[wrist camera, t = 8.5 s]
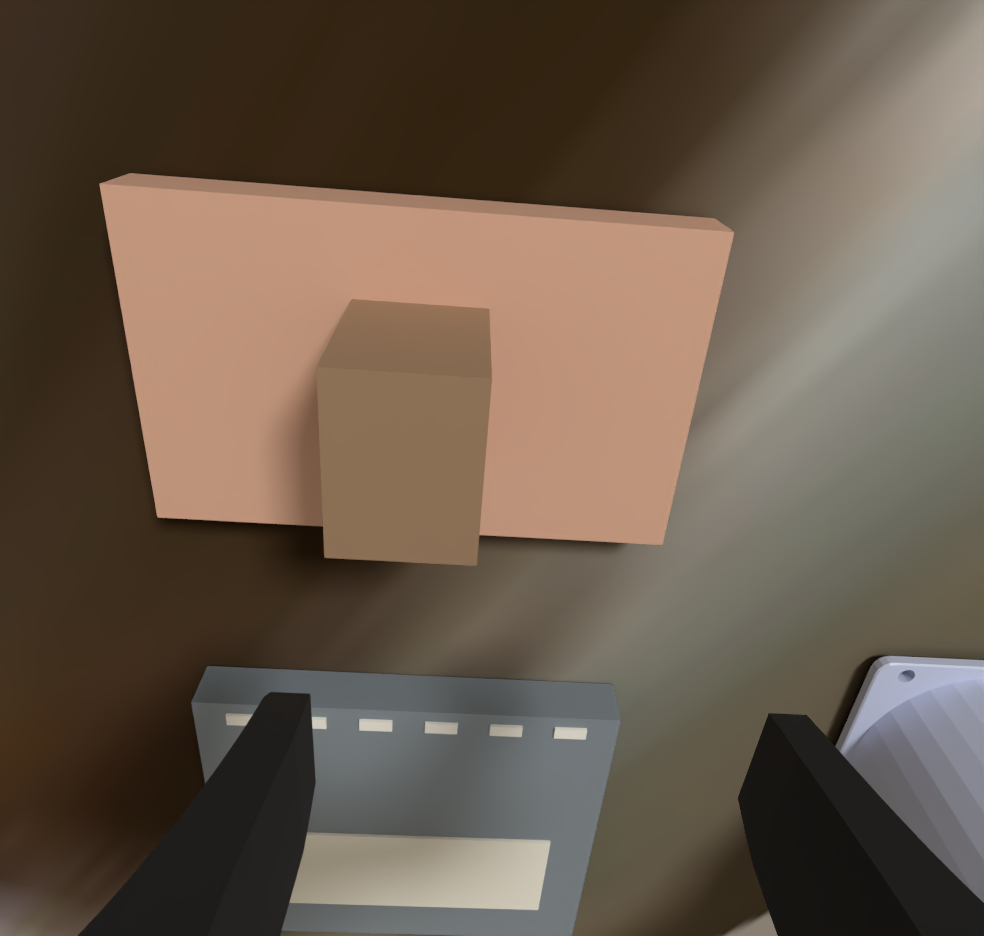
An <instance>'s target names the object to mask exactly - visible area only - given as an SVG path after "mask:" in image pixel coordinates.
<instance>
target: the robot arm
mask: <svg viewBox="0 0 984 936" xmlns="http://www.w3.org/2000/svg"><path fill="white" fill-rule="evenodd" d="M903 671H904V672H903ZM315 784H316V778H315V762H314V745H313V729H312V713H311V697H310V694H308V693H285V692H270V693H268V694H267V695H265V696H264V697H263V699H262V700H261V702H260V704H259V705H258V707H257V709H256V710H255V712H254V713H253V715H252V717H251V718H250V720H249V721H248V723H247V724H246V726H245V727H244V729H243V731H242V732H241V734H240V735H239V737H238V738H237V740H236V741H235V742H234V744H233V745H232V747H231V748H230V750H229V751H228V753H227V754H226V756H225V757H224V758H223V760H222V761H221V763H220V764H219V766H218V767H217V768H216V770H215V771H214V773H213V774H212V775H211V777H210V778H209V779H208V781H207V782H206V783H205V785H204V786H203V787H202V789H201V790H200V791H199V793H198V794H197V795H196V797H195V798H194V799H193V801H192V802H191V803H190V805H189V806H188V807H187V809H186V810H185V811H184V813H183V814H182V815H181V817H180V818H179V819H178V820H177V822H176V823H175V824H174V825H173V827H172V828H171V829H170V830H169V832H168V833H167V834H166V835H165V836H164V838H163V839H162V840H161V841H160V843H159V844H158V845H157V846H156V847H155V849H154V850H153V851H152V852H151V853H150V855H149V856H148V857H147V858H146V860H145V861H144V862H143V863H142V864H141V866H140V867H139V868H138V869H137V870H136V872H135V873H134V874H133V875H132V876H131V878H130V879H129V880H128V881H127V882H126V883H125V884H124V886H123V887H122V888H121V889H120V890H119V891H118V892H117V894H116V895H115V896H114V897H113V898H112V899H111V900H110V901H109V903H108V904H107V905H106V906H105V907H104V908H103V909H102V910H101V911H100V912H99V914H98V915H97V916H96V917H95V918H94V919H93V920H92V921H91V922H90V923H89V924H88V925H87V926H86V928H85V929H84V930H83V931H82V932H81V933H80V934H79V935H78V936H280V934H281V930H282V927H283V923H284V920H285V916H286V913H287V909H288V906H289V902H290V899H291V895H292V891H293V888H294V884H295V881H296V877H297V873H298V870H299V866H300V863H301V859H302V855H303V852H304V847H305V841H306V836H307V830H308V825H309V819H310V813H311V807H312V802H313V796H314V790H315ZM738 801H739V805H740V810H741V815H742V819H743V824H744V829H745V833H746V837H747V842H748V846H749V850H750V854H751V858H752V862H753V866H754V869H755V872H756V875H757V878H758V881H759V884H760V887H761V889H762V892H763V895H764V898H765V901H766V904H767V907H768V909H769V912H770V915H771V918H772V921H773V924H774V926H775V929H776V932H777V935H778V936H984V660H968V659H947V658H926V657H905V656H884V657H881V658H879V659H877V660H876V661H875V662H874V663H873V664H872V665H871V667H870V669H869V671H868V674H867V676H866V678H865V680H864V683H863V685H862V687H861V690H860V692H859V694H858V696H857V699H856V701H855V703H854V705H853V708H852V710H851V712H850V714H849V717H848V719H847V721H846V724H845V726H844V728H843V730H842V733H841V735H840V737H839V739H838V742H837V744H836V746H834V745H833V744H832V742H831V741H830V740H829V739H828V738H827V737H826V736H825V735H824V734H823V732H822V731H821V730H820V729H819V728H818V727H817V726H816V725H815V724H814V723H813V722H812V720H811V719H810V718H809V717H808V716H807V715H794V714H771V713H769V714H768V717H767V720H766V723H765V725H764V728H763V731H762V734H761V736H760V739H759V742H758V744H757V747H756V750H755V753H754V755H753V758H752V761H751V764H750V766H749V769H748V772H747V775H746V777H745V780H744V783H743V786H742V788H741V791H740V794H739V796H738Z"/></svg>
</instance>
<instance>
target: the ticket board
mask: <svg viewBox="0 0 984 936" xmlns="http://www.w3.org/2000/svg"><path fill="white" fill-rule="evenodd" d="M270 692H285V693H308V694H310V697H311V713H312V729H313V745H314V762H315V778H316V784H315V790H314V796H313V802H312V807H311V813H310V819H309V825H308V830H307V836H306V841H305V847H304V852H303V855H302V859H301V863H300V866H299V870H298V873H297V877H296V881H295V884H294V888H293V891H292V895H291V899H290V902H289V906H288V909H287V913H286V916H285V920H284V923H283V927H282V930H281V931H315V932H352V933H389V934H425V935H462V936H572V932H573V928H574V923H575V919H576V915H577V910H578V906H579V901H580V897H581V893H582V888H583V884H584V880H585V875H586V871H587V867H588V862H589V858H590V853H591V849H592V845H593V840H594V836H595V832H596V827H597V823H598V818H599V814H600V810H601V805H602V801H603V797H604V792H605V788H606V783H607V779H608V775H609V770H610V766H611V762H612V757H613V753H614V749H615V744H616V740H617V735H618V731H619V727H620V722H621V719H620V714H619V709H618V704H617V700H616V695H615V690H614V686H613V684H598V683H576V682H554V681H531V680H509V679H487V678H464V677H442V676H420V675H397V674H375V673H353V672H330V671H308V670H286V669H263V668H241V667H219V666H207V668H206V670H205V672H204V675H203V677H202V679H201V681H200V684H199V686H198V688H197V690H196V693H195V695H194V697H193V699H192V702H191V704H192V710H193V716H194V722H195V727H196V733H197V739H198V745H199V751H200V756H201V762H202V768H203V774H204V780H205V783H206V782H207V781H208V779H209V778H210V777H211V775H212V774H213V773H214V771H215V770H216V768H217V767H218V766H219V764H220V763H221V761H222V760H223V758H224V757H225V756H226V754H227V753H228V751H229V750H230V748H231V747H232V745H233V744H234V742H235V741H236V740H237V738H238V737H239V735H240V734H241V732H242V731H243V729H244V727H245V726H246V724H247V723H248V721H249V720H250V718H251V717H252V715H253V713H254V712H255V710H256V709H257V707H258V705H259V704H260V702H261V700H262V699H263V697H264V696H265V695H267V694H268V693H270Z"/></svg>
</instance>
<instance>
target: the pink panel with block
mask: <svg viewBox="0 0 984 936" xmlns="http://www.w3.org/2000/svg"><path fill="white" fill-rule="evenodd" d="M100 190H101V195H102V201H103V207H104V213H105V218H106V224H107V230H108V236H109V241H110V247H111V253H112V259H113V264H114V270H115V276H116V282H117V287H118V293H119V299H120V305H121V310H122V316H123V322H124V328H125V333H126V339H127V345H128V351H129V357H130V362H131V368H132V374H133V380H134V385H135V391H136V397H137V403H138V408H139V414H140V420H141V426H142V431H143V437H144V443H145V449H146V454H147V460H148V466H149V472H150V477H151V483H152V489H153V495H154V500H155V506H156V512H157V517H159V518H177V519H196V520H214V521H232V522H251V523H269V524H287V525H306V526H323V537H324V558H338V559H357V560H376V561H395V562H414V563H433V564H452V565H471V566H477V557H478V545H479V535H489V536H508V537H526V538H544V539H563V540H581V541H599V542H618V543H636V544H655V545H663V540H664V536H665V532H666V527H667V523H668V518H669V514H670V510H671V505H672V501H673V497H674V492H675V488H676V484H677V479H678V475H679V471H680V466H681V462H682V458H683V453H684V449H685V445H686V440H687V436H688V431H689V427H690V423H691V418H692V414H693V410H694V405H695V401H696V397H697V392H698V388H699V384H700V379H701V375H702V371H703V366H704V362H705V358H706V353H707V349H708V344H709V340H710V336H711V331H712V327H713V323H714V318H715V314H716V310H717V305H718V301H719V297H720V292H721V288H722V284H723V279H724V275H725V271H726V266H727V262H728V257H729V253H730V249H731V244H732V240H733V236H734V232H733V231H732V230H730V229H729V228H728V227H726V226H725V225H723V224H722V223H720V222H719V221H717V220H716V219H715V218H703V217H690V216H677V215H664V214H651V213H638V212H625V211H612V210H599V209H587V208H574V207H561V206H548V205H535V204H522V203H509V202H496V201H483V200H470V199H457V198H444V197H431V196H418V195H405V194H392V193H379V192H366V191H353V190H340V189H327V188H314V187H301V186H288V185H275V184H262V183H249V182H236V181H224V180H211V179H198V178H185V177H172V176H159V175H146V174H133V173H130V174H127V175H124V176H121V177H118V178H115V179H112V180H109V181H106V182H103V183H100Z"/></svg>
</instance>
